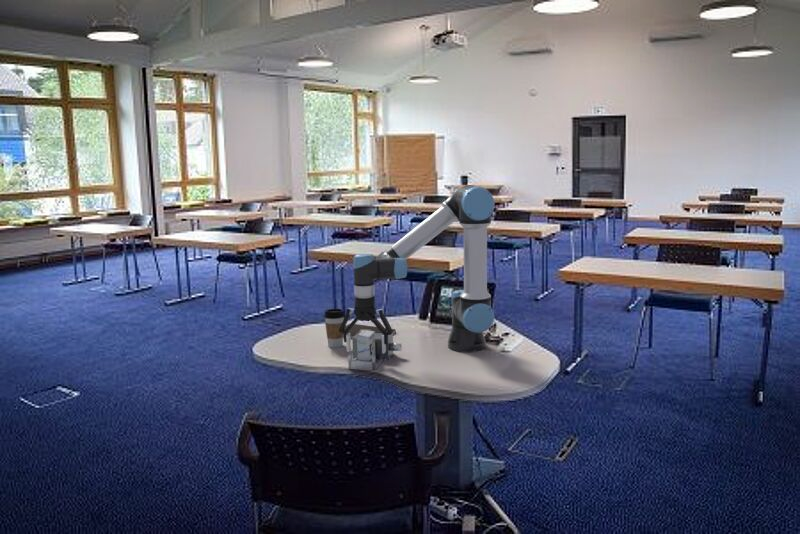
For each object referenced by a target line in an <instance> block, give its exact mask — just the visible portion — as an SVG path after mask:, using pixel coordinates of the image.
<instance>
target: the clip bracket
mask: <svg viewBox="0 0 800 534" xmlns="http://www.w3.org/2000/svg"><path fill="white" fill-rule="evenodd" d="M347 359H348V360H347V361H348V363H347V365H348V369H349V370H360V371H361V370H362V371H364V370H365V371H376V370H377V368H379V366H380V365H381V363H382V362H383V361H384V360H383V356H380V357H379V359H378V360H377V359H376V356H372V361H359V360H358V355H357V356H356V357H355V358H353V354H348V356H347Z"/></svg>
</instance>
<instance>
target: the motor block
mask: <svg viewBox="0 0 800 534" xmlns="http://www.w3.org/2000/svg"><path fill="white" fill-rule="evenodd" d="M362 331H371V330H363V329H361V330H360V331H359V332H358V333H357V334H356V335H355V336H354V337H353V338H351V340H352V343H351V344H352V359H354V358H355V357H356V356H357V355H358V354H357V335H358V334H359V333H361V332H362ZM382 336H383V334H382V333H375V355H376V361H377V360H378V359H379V357H380V356H383V361H389V360H390V359H391V357H392V356H393V355H394V352H401V351H402V349H403V348H402V347H403V346H402V343H399V342H394V334H391V335H388V344H386V352H385V353H384V354H383V353H382Z"/></svg>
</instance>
